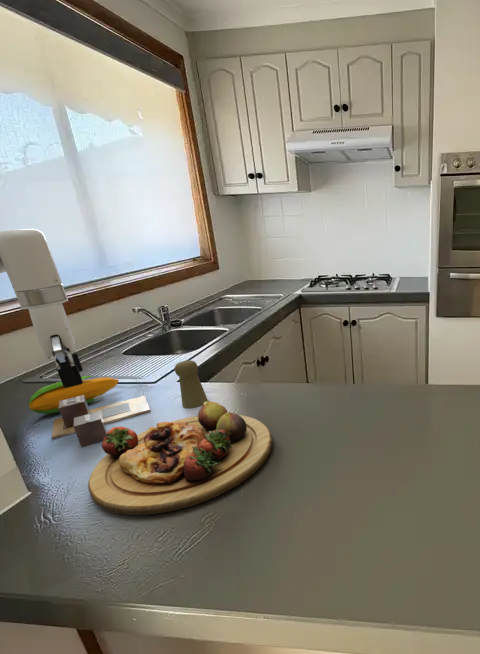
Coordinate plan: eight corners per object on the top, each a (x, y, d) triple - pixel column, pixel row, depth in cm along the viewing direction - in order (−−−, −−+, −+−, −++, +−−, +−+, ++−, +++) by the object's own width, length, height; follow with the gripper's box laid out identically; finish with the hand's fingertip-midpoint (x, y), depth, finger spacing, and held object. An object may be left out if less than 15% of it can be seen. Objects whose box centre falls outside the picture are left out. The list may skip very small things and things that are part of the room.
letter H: (65, 427, 97) (58, 407, 95) (66, 419, 101) (59, 400, 99) (91, 420, 100) (83, 401, 98) (90, 413, 103) (83, 394, 102)
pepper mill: (192, 410, 102) (181, 367, 98) (177, 405, 106) (165, 364, 102) (212, 399, 107) (203, 359, 103) (197, 396, 110) (187, 356, 106)
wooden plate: (47, 500, 73) (29, 459, 70) (184, 415, 100) (175, 383, 97) (194, 537, 61) (180, 490, 58) (302, 430, 89) (296, 394, 86)
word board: (52, 439, 94) (51, 436, 93) (55, 421, 102) (53, 418, 102) (150, 411, 103) (149, 409, 103) (145, 397, 112) (144, 394, 112)
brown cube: (81, 447, 89) (73, 426, 87) (81, 437, 93) (73, 417, 91) (108, 439, 92) (100, 418, 90) (107, 430, 96) (100, 410, 94)
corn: (20, 387, 104) (109, 362, 117) (31, 414, 107) (117, 387, 120) (25, 396, 99) (118, 370, 112) (37, 424, 102) (126, 395, 115)
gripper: (23, 295, 86) (54, 372, 92) (12, 307, 72) (49, 397, 79) (67, 288, 90) (94, 363, 96) (64, 299, 76) (96, 385, 82)
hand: (74, 378), depth 87 cm, fingers open, 9 cm apart
